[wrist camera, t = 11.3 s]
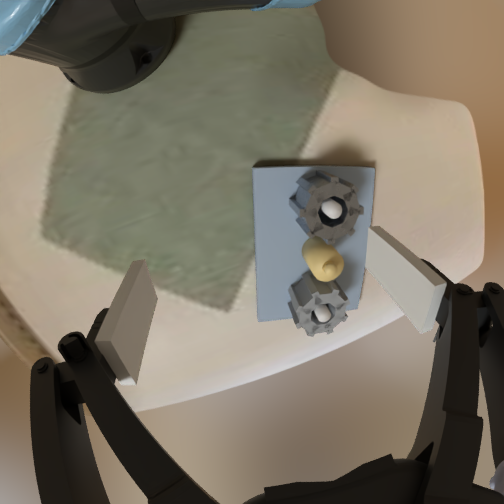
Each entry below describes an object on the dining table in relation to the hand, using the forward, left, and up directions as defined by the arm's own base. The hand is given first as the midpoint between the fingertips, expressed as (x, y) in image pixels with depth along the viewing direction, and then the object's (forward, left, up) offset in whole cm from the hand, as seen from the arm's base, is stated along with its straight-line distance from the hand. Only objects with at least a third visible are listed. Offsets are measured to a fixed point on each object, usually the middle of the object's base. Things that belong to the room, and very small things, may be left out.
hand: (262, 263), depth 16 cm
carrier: (+8, +10, -20) cm, 24 cm away
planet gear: (+2, +10, -19) cm, 21 cm away
